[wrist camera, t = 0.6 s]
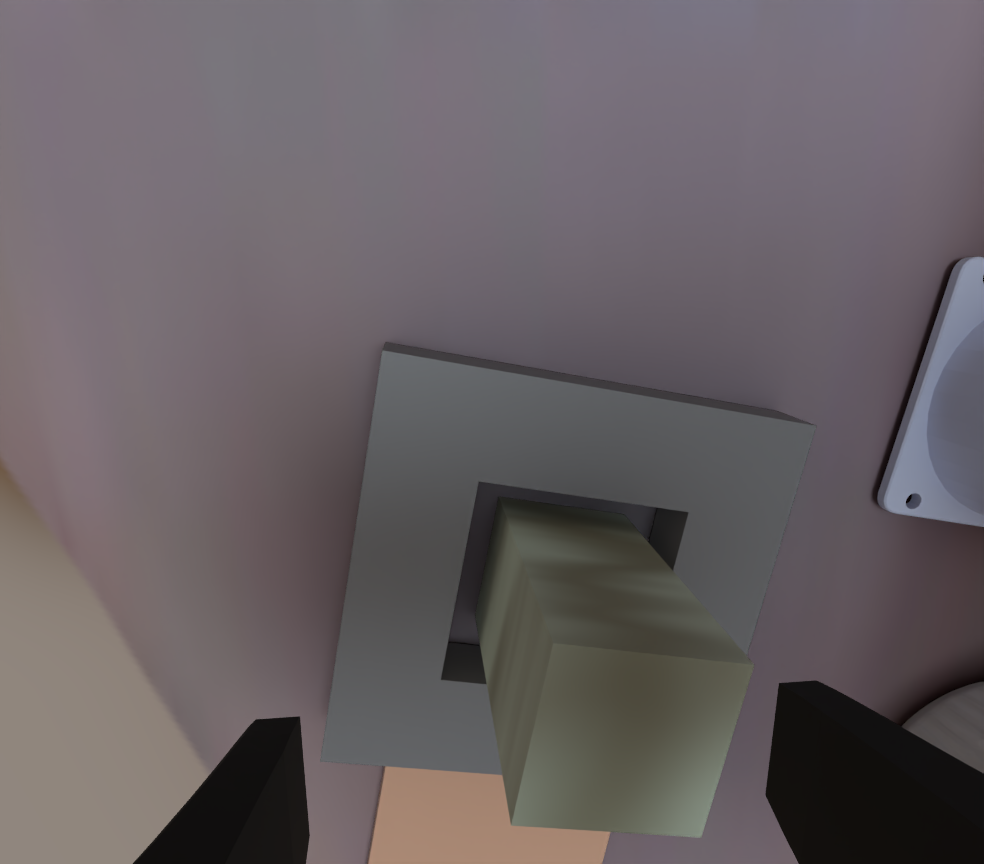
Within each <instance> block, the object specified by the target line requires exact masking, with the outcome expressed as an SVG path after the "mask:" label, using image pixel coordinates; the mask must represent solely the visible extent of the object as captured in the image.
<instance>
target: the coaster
mask: <svg viewBox="0 0 984 864" xmlns="http://www.w3.org/2000/svg"><path fill="white" fill-rule="evenodd" d="M609 836H610V832H604V831H589V830H573V829H557V828H541V827H525V826H511V822H510V817H509V811H508V805H507V799H506V793H505V788H504V782H503V776H502V775H495V774H481V773H468V772H455V771H441V770H428V769H415V768H401V767H388V766H384V770H383V775H382V781H381V787H380V792H379V798H378V804H377V809H376V815H375V821H374V826H373V832H372V838H371V843H370V849H369V855H368V860H367V864H602V862H603V858H604V854H605V851H606V847H607V843H608V840H609Z"/></svg>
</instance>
